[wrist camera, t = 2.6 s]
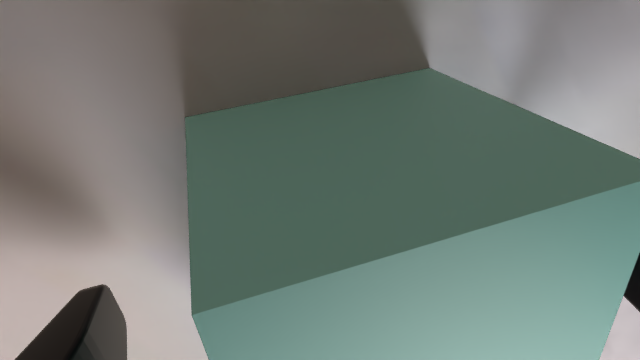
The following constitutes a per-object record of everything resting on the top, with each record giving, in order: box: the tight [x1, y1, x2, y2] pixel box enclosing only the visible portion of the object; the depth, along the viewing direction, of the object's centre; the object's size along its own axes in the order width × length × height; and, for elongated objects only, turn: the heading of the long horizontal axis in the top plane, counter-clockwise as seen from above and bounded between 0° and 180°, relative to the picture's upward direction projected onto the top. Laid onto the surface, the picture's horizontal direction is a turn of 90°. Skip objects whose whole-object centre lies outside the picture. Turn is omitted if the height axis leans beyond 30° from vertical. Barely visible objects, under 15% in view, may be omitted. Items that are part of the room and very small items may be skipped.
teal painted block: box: [185, 68, 640, 360], centre depth 7 cm, size 5×5×5 cm
